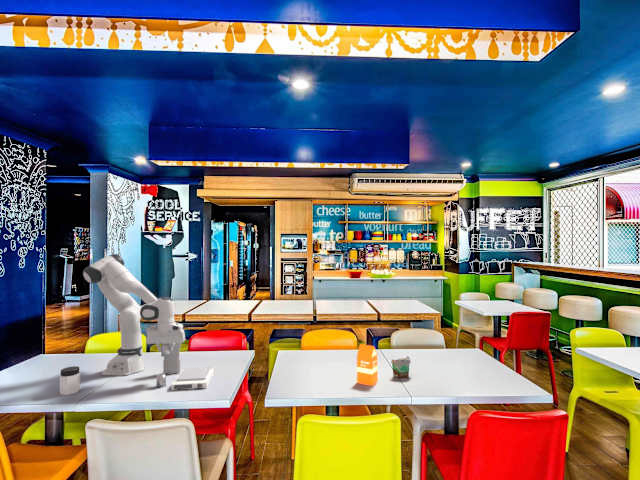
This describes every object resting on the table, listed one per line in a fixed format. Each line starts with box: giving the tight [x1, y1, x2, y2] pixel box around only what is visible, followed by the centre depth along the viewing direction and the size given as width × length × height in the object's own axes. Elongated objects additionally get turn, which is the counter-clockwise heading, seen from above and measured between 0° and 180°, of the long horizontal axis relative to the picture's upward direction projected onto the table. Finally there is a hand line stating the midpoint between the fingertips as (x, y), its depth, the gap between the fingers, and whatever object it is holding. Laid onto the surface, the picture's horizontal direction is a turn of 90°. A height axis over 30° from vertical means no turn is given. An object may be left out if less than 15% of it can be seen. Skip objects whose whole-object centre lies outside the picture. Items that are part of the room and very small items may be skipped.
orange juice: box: [356, 343, 378, 386], centre depth 197 cm, size 8×9×20 cm
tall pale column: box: [162, 343, 182, 375], centre depth 213 cm, size 11×4×22 cm, turn 93°
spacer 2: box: [156, 373, 167, 388], centre depth 194 cm, size 5×5×6 cm
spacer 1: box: [160, 343, 170, 358], centre depth 202 cm, size 5×5×6 cm
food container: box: [390, 355, 411, 379], centre depth 203 cm, size 12×6×10 cm, turn 117°
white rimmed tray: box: [170, 366, 215, 391], centre depth 199 cm, size 18×22×4 cm
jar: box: [59, 365, 81, 396], centre depth 187 cm, size 9×8×12 cm
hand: (165, 351), depth 202 cm, fingers closed on spacer 1, 5 cm apart
